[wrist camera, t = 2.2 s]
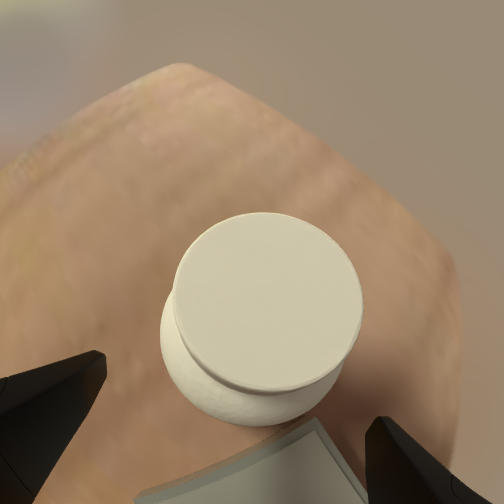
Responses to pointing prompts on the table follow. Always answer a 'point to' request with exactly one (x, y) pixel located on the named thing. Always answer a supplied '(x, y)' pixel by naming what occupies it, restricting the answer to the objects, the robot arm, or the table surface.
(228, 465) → the slate base
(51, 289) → the table surface
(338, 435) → the table surface
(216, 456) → the table surface
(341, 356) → the supplement bottle
